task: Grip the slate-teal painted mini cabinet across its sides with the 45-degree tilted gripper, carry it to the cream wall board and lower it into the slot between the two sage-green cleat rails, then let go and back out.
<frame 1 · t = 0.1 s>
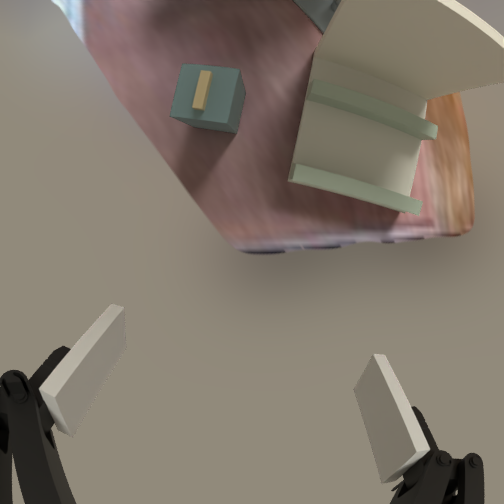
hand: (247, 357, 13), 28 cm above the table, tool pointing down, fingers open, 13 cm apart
mini cabinet: (219, 109, 35), on the table
cleat board: (359, 149, 36), on the table
shower valve: (347, 15, 29), on the table
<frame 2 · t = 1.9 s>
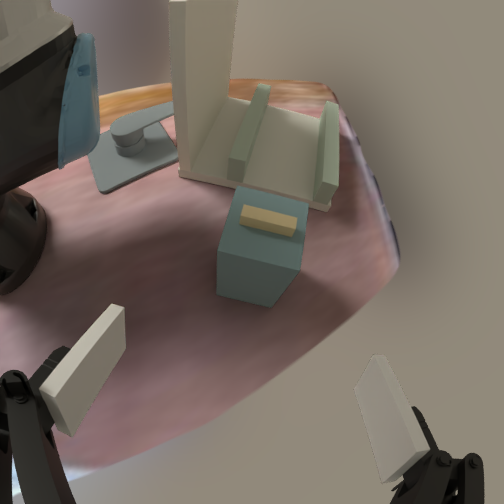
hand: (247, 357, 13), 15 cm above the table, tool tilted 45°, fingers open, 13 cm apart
mini cabinet: (249, 275, 31), on the table
cleat board: (285, 152, 40), on the table
shower valve: (137, 149, 38), on the table
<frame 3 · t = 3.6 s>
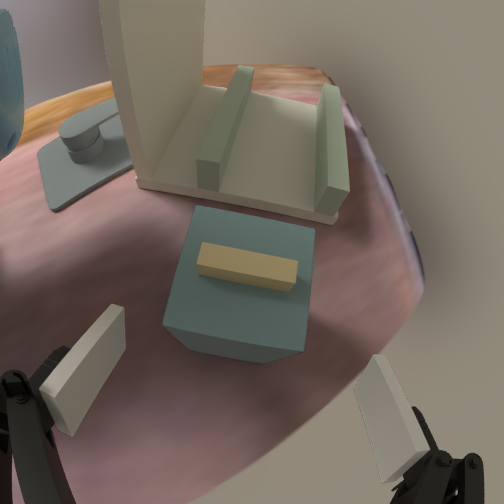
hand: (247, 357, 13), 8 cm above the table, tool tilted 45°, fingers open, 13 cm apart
mini cabinet: (232, 321, 22), on the table
cleat board: (274, 148, 31), on the table
shower valve: (95, 152, 29), on the table
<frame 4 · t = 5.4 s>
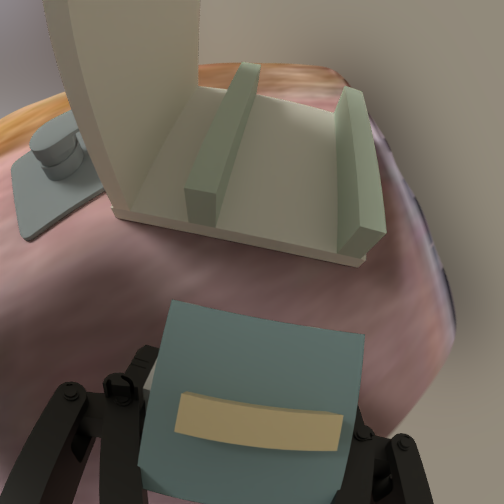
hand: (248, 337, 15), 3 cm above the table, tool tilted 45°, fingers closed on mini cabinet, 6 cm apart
mini cabinet: (233, 396, 17), on the table, touching gripper
cleat board: (286, 165, 25), on the table
shower valve: (74, 166, 24), on the table
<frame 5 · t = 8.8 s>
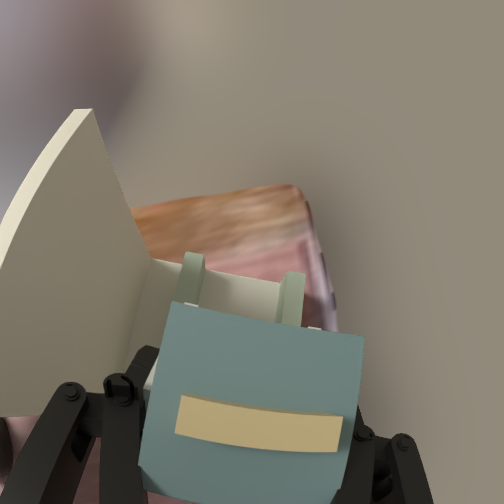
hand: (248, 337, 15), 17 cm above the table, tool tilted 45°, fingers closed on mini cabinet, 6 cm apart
mini cabinet: (233, 397, 17), point 14 cm above the table, touching gripper
cleat board: (229, 352, 31), on the table
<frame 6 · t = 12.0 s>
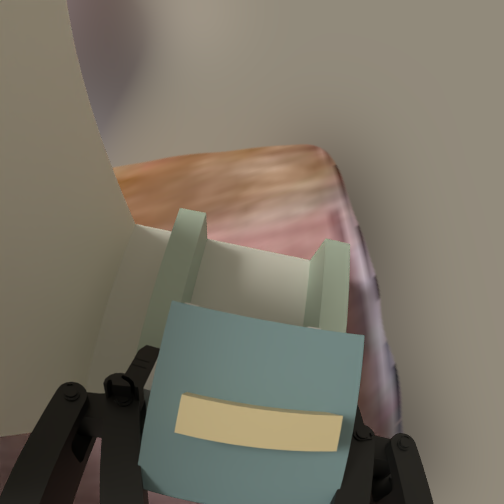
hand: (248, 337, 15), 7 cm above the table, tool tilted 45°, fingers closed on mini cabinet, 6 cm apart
mini cabinet: (233, 396, 17), point 4 cm above the table, touching gripper
cleat board: (238, 357, 21), on the table
when the fingers open (7 cm above the table, at t = 12.1 s): mini cabinet drops 2 cm, resting on cleat board.
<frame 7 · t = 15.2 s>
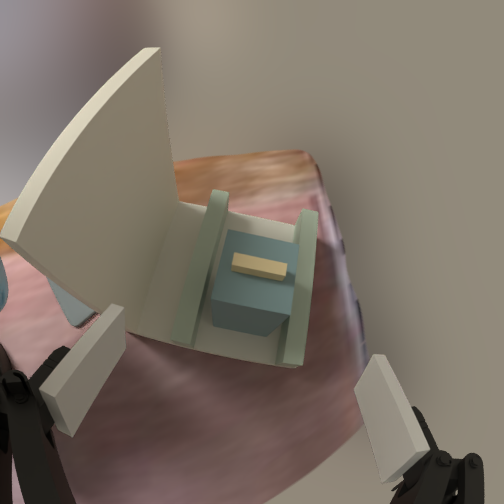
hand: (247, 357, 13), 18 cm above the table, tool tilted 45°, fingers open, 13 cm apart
mini cabinet: (244, 306, 32), point 1 cm above the table, touching cleat board
cleat board: (247, 285, 34), on the table
shower valve: (96, 261, 34), on the table
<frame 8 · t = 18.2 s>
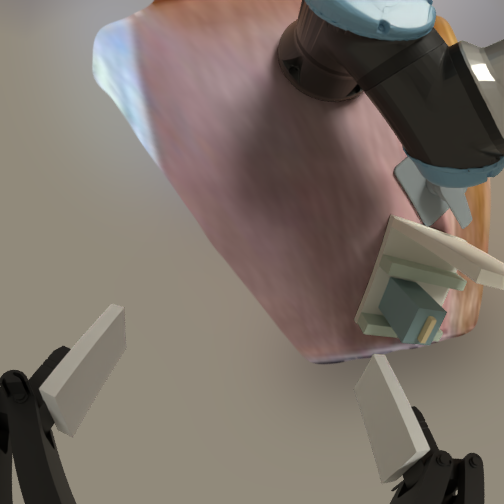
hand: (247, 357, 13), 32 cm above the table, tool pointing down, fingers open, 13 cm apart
mini cabinet: (397, 294, 45), point 1 cm above the table, touching cleat board
cleat board: (407, 293, 47), on the table
shower valve: (434, 184, 41), on the table
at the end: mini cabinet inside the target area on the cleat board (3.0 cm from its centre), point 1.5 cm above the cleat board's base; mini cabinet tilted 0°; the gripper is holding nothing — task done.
